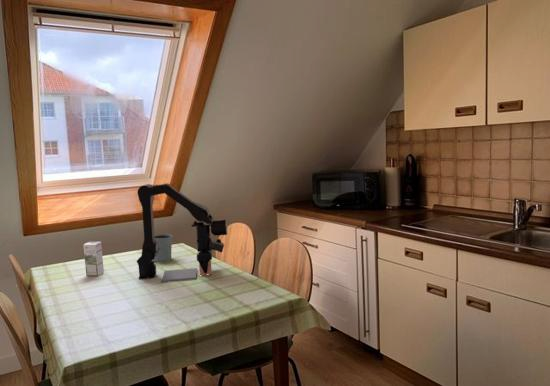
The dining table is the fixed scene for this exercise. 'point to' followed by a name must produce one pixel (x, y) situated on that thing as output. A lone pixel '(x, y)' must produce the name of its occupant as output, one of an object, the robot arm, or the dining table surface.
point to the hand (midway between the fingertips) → (205, 271)
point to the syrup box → (93, 258)
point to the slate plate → (179, 274)
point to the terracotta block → (209, 270)
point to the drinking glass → (163, 248)
